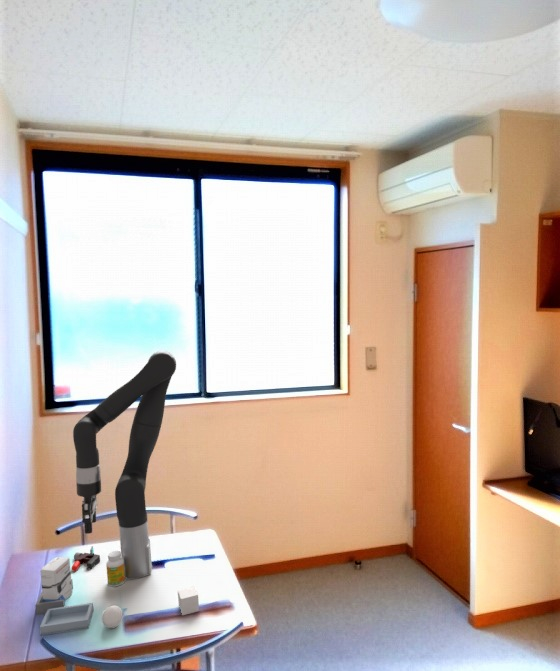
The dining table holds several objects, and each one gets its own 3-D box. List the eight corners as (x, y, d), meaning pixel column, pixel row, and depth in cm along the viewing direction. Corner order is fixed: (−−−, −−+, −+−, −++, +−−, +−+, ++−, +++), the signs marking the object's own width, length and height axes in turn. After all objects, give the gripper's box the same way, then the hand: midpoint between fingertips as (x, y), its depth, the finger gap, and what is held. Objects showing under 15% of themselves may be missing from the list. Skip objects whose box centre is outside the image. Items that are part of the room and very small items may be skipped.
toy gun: (77, 556, 193) (76, 543, 192) (104, 561, 188) (103, 547, 188) (57, 570, 184) (56, 556, 183) (85, 575, 179) (83, 561, 179)
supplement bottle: (109, 589, 169) (107, 559, 168) (106, 581, 174) (104, 552, 173) (126, 583, 171) (124, 554, 171) (123, 576, 176) (121, 548, 175)
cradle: (73, 588, 171) (72, 579, 170) (64, 610, 158) (63, 600, 158) (47, 591, 169) (46, 582, 169) (36, 614, 157) (35, 604, 157)
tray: (48, 617, 155) (47, 609, 155) (93, 610, 157) (93, 602, 157) (40, 635, 147) (39, 626, 147) (88, 628, 149) (87, 619, 149)
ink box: (57, 608, 159) (54, 570, 159) (42, 608, 160) (39, 570, 159) (73, 592, 168) (70, 556, 167) (59, 592, 169) (55, 556, 168)
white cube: (195, 602, 159) (194, 586, 159) (199, 611, 154) (198, 594, 154) (178, 606, 157) (177, 590, 157) (182, 615, 153) (181, 599, 152)
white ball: (124, 629, 147) (122, 610, 147) (102, 634, 146) (100, 614, 145) (123, 614, 155) (122, 595, 154) (103, 618, 153) (101, 599, 153)
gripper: (97, 485, 167) (99, 535, 168) (103, 471, 181) (105, 517, 182) (72, 487, 166) (74, 538, 167) (80, 473, 180) (82, 519, 181)
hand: (90, 527), depth 175 cm, fingers open, 8 cm apart
